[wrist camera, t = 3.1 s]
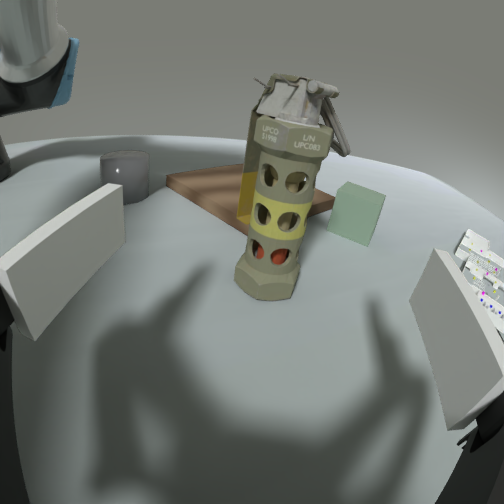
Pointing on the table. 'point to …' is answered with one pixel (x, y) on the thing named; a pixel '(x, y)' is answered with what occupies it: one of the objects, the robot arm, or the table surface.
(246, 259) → the grenade
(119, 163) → the grey rounded block
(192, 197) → the walnut board
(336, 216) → the green block
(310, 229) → the table surface
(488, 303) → the floor plan model
